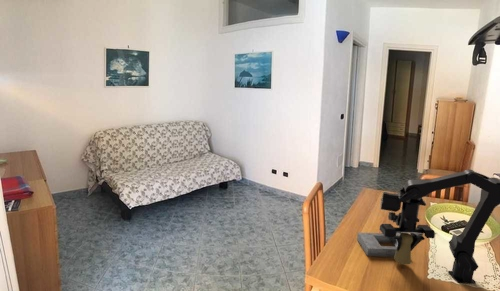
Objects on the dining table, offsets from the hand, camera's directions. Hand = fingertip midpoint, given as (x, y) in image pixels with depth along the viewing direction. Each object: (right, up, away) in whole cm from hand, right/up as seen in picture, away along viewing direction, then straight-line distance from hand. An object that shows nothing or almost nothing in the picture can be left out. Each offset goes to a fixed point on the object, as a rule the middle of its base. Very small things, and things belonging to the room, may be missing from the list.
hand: (403, 250), depth 122 cm
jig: (-3, -3, +13) cm, 14 cm away
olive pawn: (0, -4, +1) cm, 4 cm away
